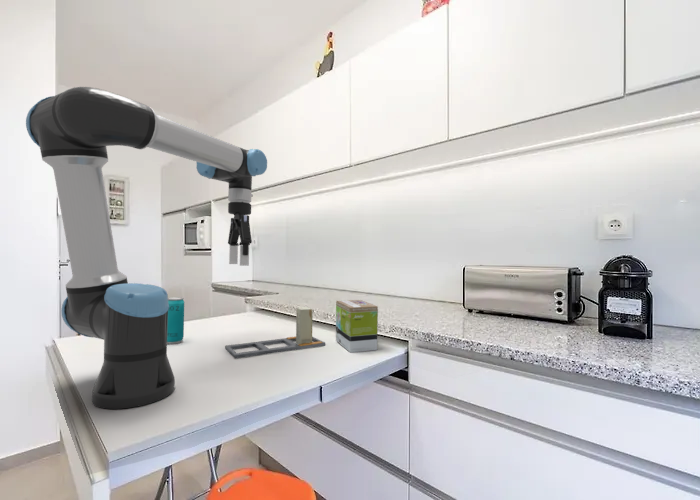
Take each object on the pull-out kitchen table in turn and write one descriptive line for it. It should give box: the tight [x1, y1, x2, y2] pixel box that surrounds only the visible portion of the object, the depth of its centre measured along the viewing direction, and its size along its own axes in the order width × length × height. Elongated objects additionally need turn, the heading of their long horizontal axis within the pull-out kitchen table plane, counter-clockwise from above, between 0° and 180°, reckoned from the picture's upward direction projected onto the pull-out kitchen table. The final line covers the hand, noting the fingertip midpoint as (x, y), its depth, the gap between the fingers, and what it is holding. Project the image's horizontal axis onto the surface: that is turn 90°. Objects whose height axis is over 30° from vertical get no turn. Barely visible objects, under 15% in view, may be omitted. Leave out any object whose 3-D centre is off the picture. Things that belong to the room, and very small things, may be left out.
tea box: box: [335, 299, 379, 353], centre depth 118 cm, size 15×10×15 cm
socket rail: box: [224, 335, 326, 360], centre depth 115 cm, size 12×30×1 cm, turn 123°
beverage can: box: [167, 296, 185, 345], centre depth 118 cm, size 6×6×15 cm
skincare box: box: [295, 306, 314, 344], centre depth 120 cm, size 6×4×12 cm
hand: (238, 264), depth 119 cm, fingers open, 13 cm apart
